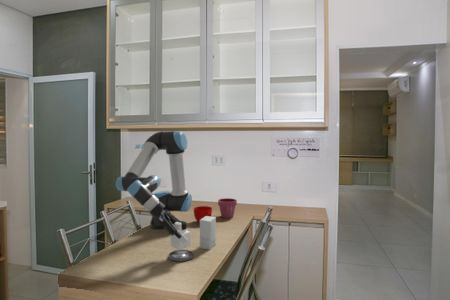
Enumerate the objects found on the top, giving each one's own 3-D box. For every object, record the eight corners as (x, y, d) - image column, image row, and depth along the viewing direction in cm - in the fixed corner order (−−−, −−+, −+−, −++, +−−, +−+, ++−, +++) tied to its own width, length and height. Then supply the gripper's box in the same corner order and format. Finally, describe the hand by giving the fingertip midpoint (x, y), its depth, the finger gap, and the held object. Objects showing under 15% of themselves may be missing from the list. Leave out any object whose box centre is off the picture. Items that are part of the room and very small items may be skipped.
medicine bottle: (181, 242, 139) (181, 219, 139) (190, 245, 135) (190, 221, 134) (170, 246, 134) (170, 222, 133) (179, 250, 129) (179, 224, 129)
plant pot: (232, 213, 218) (232, 197, 217) (239, 217, 205) (239, 200, 204) (215, 215, 212) (215, 198, 212) (222, 219, 199) (222, 202, 199)
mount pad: (170, 252, 141) (170, 249, 140) (194, 251, 141) (194, 249, 141) (166, 262, 129) (166, 259, 129) (192, 261, 129) (192, 259, 129)
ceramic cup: (201, 227, 181) (201, 212, 181) (190, 221, 195) (190, 207, 195) (218, 224, 188) (218, 210, 188) (206, 218, 203) (206, 205, 202)
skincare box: (205, 243, 153) (205, 215, 153) (216, 244, 151) (216, 216, 150) (199, 248, 145) (199, 219, 145) (210, 250, 143) (210, 220, 143)
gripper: (154, 206, 145) (184, 235, 145) (142, 218, 122) (178, 252, 123) (164, 196, 145) (194, 225, 145) (154, 206, 122) (190, 240, 123)
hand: (186, 238), depth 134 cm, fingers closed on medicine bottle, 10 cm apart
